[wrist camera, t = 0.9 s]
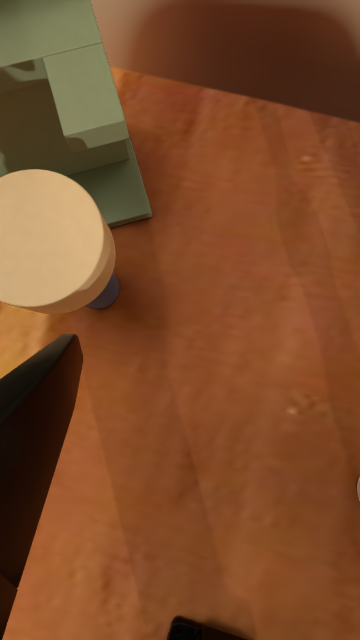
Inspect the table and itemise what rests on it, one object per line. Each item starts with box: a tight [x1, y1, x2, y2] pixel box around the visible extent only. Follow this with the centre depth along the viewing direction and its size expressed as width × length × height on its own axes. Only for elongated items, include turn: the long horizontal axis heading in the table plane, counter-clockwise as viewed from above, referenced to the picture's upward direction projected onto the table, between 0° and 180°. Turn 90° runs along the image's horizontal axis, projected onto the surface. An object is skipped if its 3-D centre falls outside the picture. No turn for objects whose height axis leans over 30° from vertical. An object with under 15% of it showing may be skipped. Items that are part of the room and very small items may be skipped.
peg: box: [0, 169, 120, 314], centre depth 17 cm, size 6×6×10 cm
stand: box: [0, 0, 153, 228], centre depth 17 cm, size 8×11×13 cm
